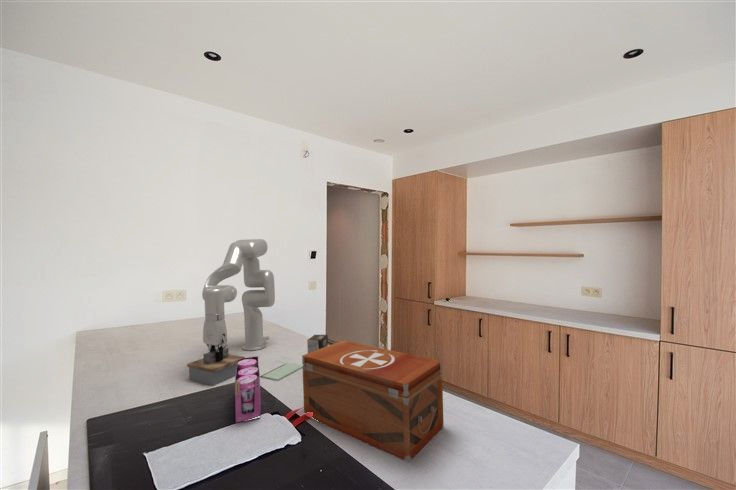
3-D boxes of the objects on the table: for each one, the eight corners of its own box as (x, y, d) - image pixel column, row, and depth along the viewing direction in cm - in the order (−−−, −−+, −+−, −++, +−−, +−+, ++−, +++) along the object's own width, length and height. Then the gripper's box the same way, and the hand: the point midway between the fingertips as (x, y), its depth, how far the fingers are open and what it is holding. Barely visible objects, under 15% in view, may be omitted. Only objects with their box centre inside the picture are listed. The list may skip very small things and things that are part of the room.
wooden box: (345, 392, 127) (343, 339, 126) (445, 427, 101) (443, 361, 101) (303, 415, 111) (301, 355, 110) (409, 463, 85) (407, 385, 85)
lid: (219, 356, 155) (219, 343, 155) (244, 360, 147) (244, 347, 147) (187, 368, 140) (186, 354, 140) (212, 374, 133) (212, 359, 133)
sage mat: (276, 361, 162) (276, 360, 162) (304, 366, 154) (304, 365, 154) (248, 374, 147) (248, 373, 147) (278, 380, 139) (278, 379, 139)
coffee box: (322, 379, 140) (321, 340, 139) (307, 378, 141) (306, 339, 141) (329, 370, 148) (328, 334, 148) (315, 370, 150) (314, 333, 150)
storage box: (220, 369, 154) (219, 355, 154) (243, 374, 147) (243, 359, 147) (189, 382, 141) (189, 366, 141) (213, 388, 134) (213, 372, 134)
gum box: (261, 420, 108) (260, 378, 108) (235, 426, 105) (233, 382, 105) (259, 390, 131) (258, 355, 131) (238, 394, 128) (236, 358, 128)
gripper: (194, 317, 144) (196, 360, 144) (220, 320, 136) (222, 365, 137) (209, 313, 151) (211, 354, 151) (235, 316, 143) (237, 359, 143)
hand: (216, 359), depth 144 cm, fingers closed on lid, 3 cm apart
